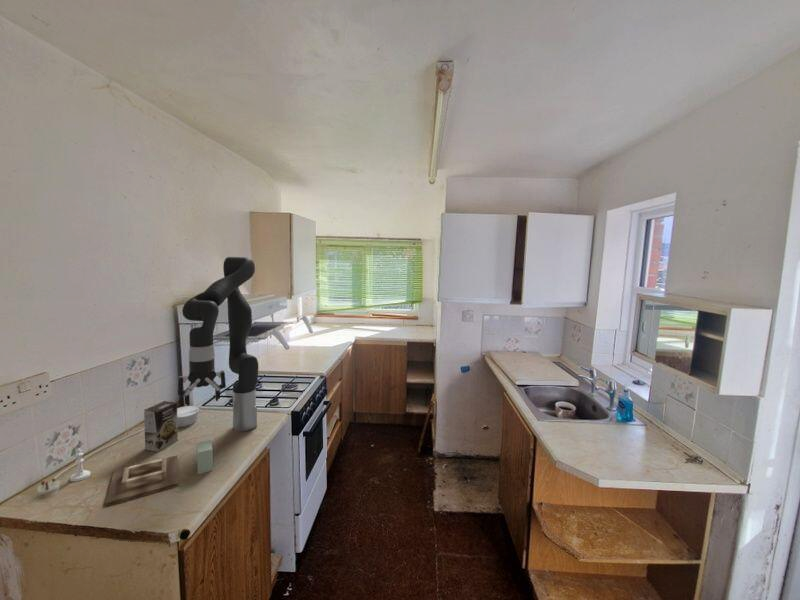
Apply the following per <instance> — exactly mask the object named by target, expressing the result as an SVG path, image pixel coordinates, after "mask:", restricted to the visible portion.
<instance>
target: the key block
mask: <svg viewBox="0 0 800 600" xmlns="http://www.w3.org/2000/svg"><path fill="white" fill-rule="evenodd" d="M195 444H196V468H197V475H202V474H204V473H205V474H206V473H208V472H212V471H214V461H213V459H214V458H213V457H214V456H213V454H214V453H213V444H212V441H211V439H209V440H204V441H200V442H196V443H195Z"/></svg>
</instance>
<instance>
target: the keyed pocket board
mask: <svg viewBox="0 0 800 600" xmlns="http://www.w3.org/2000/svg"><path fill="white" fill-rule="evenodd" d="M178 460H179V457H178V455H177V454H176V455H173V456H168V457H164V458H159V459H156V460H152V461H147V462H143V463H138V464H135V465H131V466H126V467H123V468H118V469H115V470H113V475H112V478H111V481H110V486H109V488H108V489H109V490H108V492H107V496H106V500H105V507H107V506H111V505H115V504H118V503H122V502H125V501H128V500H132V499H136V498H139V497H144V496H147V495H150V494H154V493H156V492H157V493H158V492H161V491H164V490H169V489H171V488H175V487H178V486H179V461H178Z"/></svg>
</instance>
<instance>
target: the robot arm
mask: <svg viewBox="0 0 800 600" xmlns="http://www.w3.org/2000/svg"><path fill="white" fill-rule="evenodd" d="M222 265H223V277H221V278H220V279H217V280H216V281H214V282H213V283H211V284H210V285H209V286H208V287H207V288H206V289H205V290H204V291H203V292H200V293H199V294H197V295H195V296H193V297H190V298H189V299H188V300H187V301H186V302H185V303H184V304H183V306H182V311H181V313H182V316H183V317H184V318H185V319H186V320H188V321H193V322H196V321H197V322H202V325H201V326H197V327H194V328H192V329H190V330H189V334H188V335H189V349H188V367H189V368H188V369H189V370H188V371H189V372H188V375H186V376H185V375H184V376H183V375H179V376H178V381H177V382H178V387H177V395H179V396H184V404H185V405H186V406H191V405H190V403H191V402H190V393H191V392H192V391H193V390H194V389H195V388H201V387H208V386H209V385H210V386H211V387H212V388H214V391H215V393H214V396H215V397H214V398H215V402H217V401H218V402H219V400H220V399H221V390H222V389H225V388H226V386H227V385H226V375H225V370H222V369H221V370H220V371H218V372H217V371H215V370H216V369H215V356H216V354H215V348H214V347H215V346H214V332H215V327H216V323H217V320H218V317H219V312H220V311H219V309H220V308H219V307H220V305H222V304H223V303H224V302H225V300H227V320H228V321H227V322H228V335H229V337H228V338H229V340H228V341H229V349H228V350H229V351H228V352H229V353H228V366H229V369H230V371H231V372H232V373H234V374H237V375H238V377H237V378H238V380H237V381H236V382H235V383H233V384H232V428H233V430H234V431H236V432H246V431H251V430H252V429H254V428H257V426H258V406H257V403H256V400H257V398H256V397H257V395H256V394H257V392H256V391H257V389H256V388H257V384H258V381H259V380H258V379H259V360H258V358H257V357H256V356H255V355H252V354H249V353H247V338H248V336H249V334H250V331H251V328H252V326H253V315H252V314H253V313H252V312H253V311H252V308H251V306H250V304H249V303H248V302H249V301H247V299H246V297H244V295H243V294H242V292H241V290H240V287H241V286H242V285H244V284H245V283H246V282H247V281H249V280H250V279H251V278H252V277H253V276H254V274H255V272H256V270H255V269H256V265H255V262H254V260H253V259H252V258H250V257H245V256H244V257H243V256H241V257H240V256H228V257H226V258H225V259H224V261H223V264H222ZM216 376H217V377H218V378H219V379H220V383H221V384H218V383H216V381H215V378H217V377H216ZM187 380H188V381H189V382H190V383H189V384H188V386H187V388H186V389H183V385H184V384H185V383H186V382H187Z"/></svg>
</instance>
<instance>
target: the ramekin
mask: <svg viewBox="0 0 800 600" xmlns="http://www.w3.org/2000/svg"><path fill="white" fill-rule="evenodd" d="M199 413H200V408H199V407H198V406H195V405H190V406H187V405H185V406H180V407H177V426H178V428H182V427H188V426H190V425H193V424H194V423H196V422H197V420H198V418H199V417H198V416H199Z"/></svg>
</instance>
